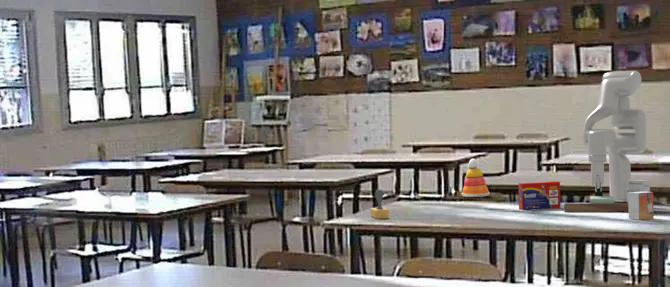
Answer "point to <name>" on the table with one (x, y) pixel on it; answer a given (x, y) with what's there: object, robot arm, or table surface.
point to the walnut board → (595, 207)
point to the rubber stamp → (379, 207)
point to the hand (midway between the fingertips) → (598, 200)
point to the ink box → (637, 186)
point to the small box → (640, 205)
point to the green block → (601, 199)
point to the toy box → (539, 195)
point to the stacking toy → (474, 182)
